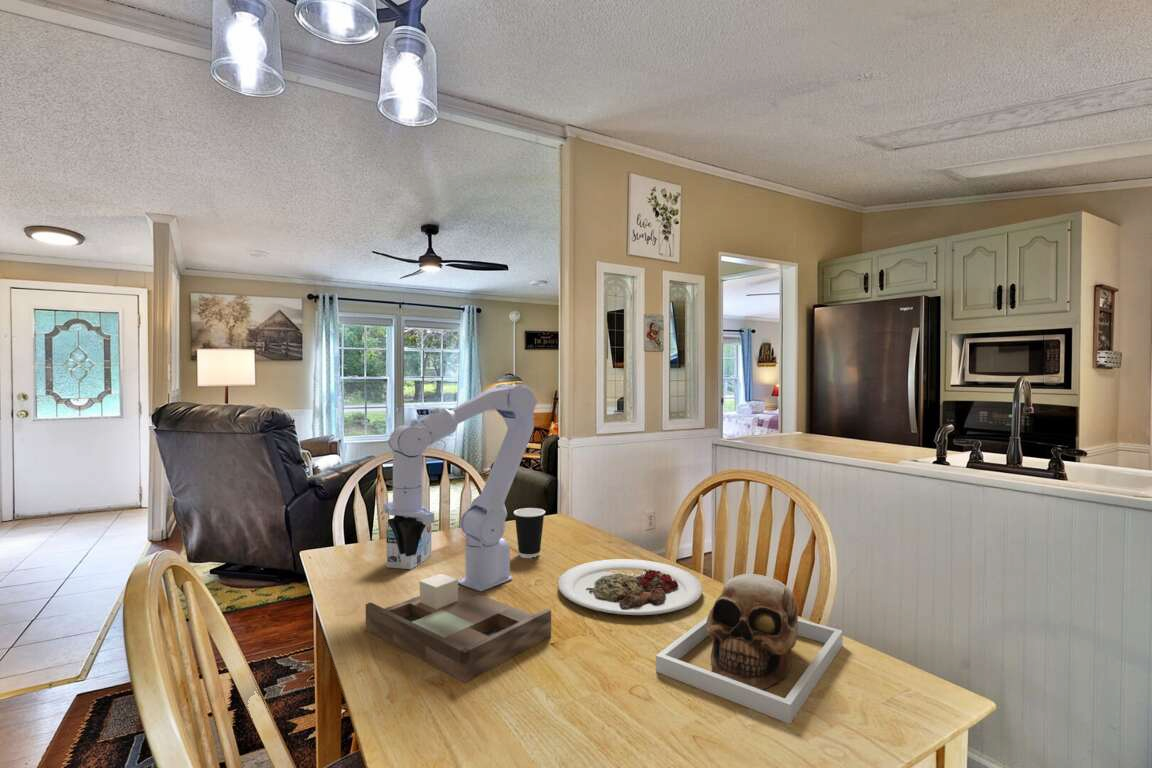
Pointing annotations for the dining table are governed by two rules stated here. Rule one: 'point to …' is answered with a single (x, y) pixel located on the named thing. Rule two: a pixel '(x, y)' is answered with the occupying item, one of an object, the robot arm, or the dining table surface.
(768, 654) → the brown skull figurine
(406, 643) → the brown wooden tray
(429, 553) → the light bulb box
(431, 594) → the cream block
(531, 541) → the dixie cup
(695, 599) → the plated food
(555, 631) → the dining table surface
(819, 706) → the dining table surface
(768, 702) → the tray
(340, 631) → the dining table surface
